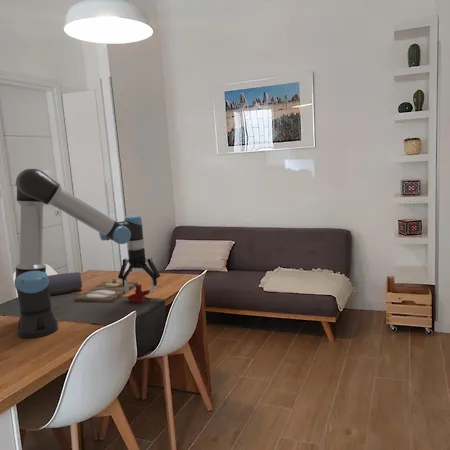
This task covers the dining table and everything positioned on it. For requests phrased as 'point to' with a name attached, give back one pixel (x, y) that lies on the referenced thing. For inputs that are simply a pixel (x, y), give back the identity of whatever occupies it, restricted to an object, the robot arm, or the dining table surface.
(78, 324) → the dining table surface
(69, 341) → the dining table surface
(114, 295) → the gear board
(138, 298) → the red branched block
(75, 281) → the bluetooth speaker
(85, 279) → the dining table surface
